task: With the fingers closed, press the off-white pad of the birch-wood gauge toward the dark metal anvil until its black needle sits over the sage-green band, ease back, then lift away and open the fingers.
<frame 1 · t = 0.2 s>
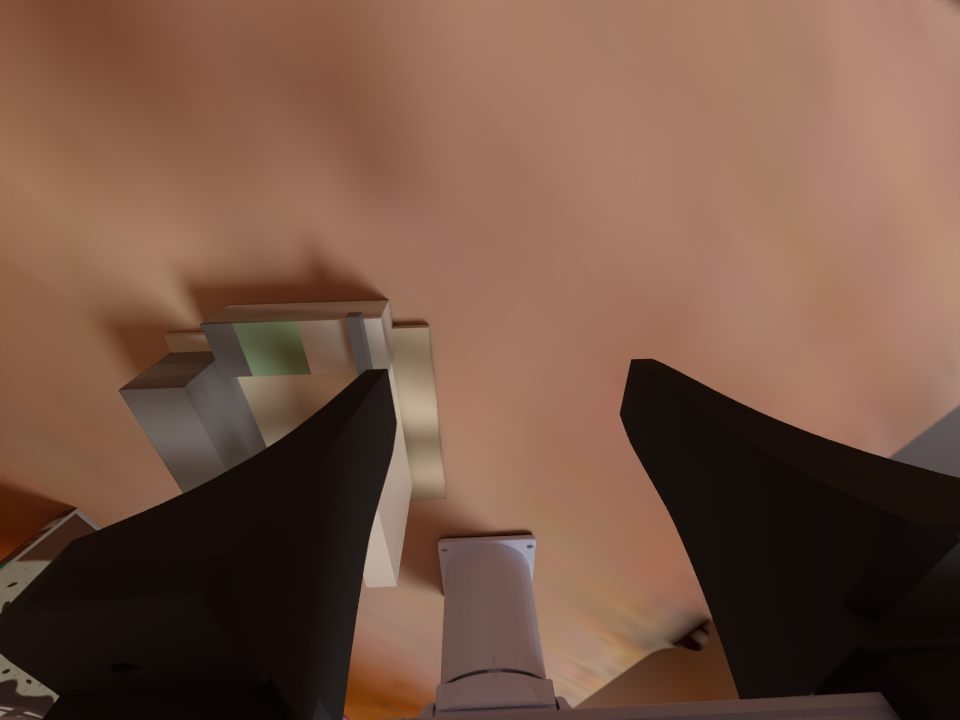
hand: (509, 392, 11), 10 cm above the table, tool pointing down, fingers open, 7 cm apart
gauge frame: (330, 426, 24), on the table
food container: (90, 549, 30), on the table
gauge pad: (373, 446, 19), point 4 cm above the table, slide at 0.0 cm
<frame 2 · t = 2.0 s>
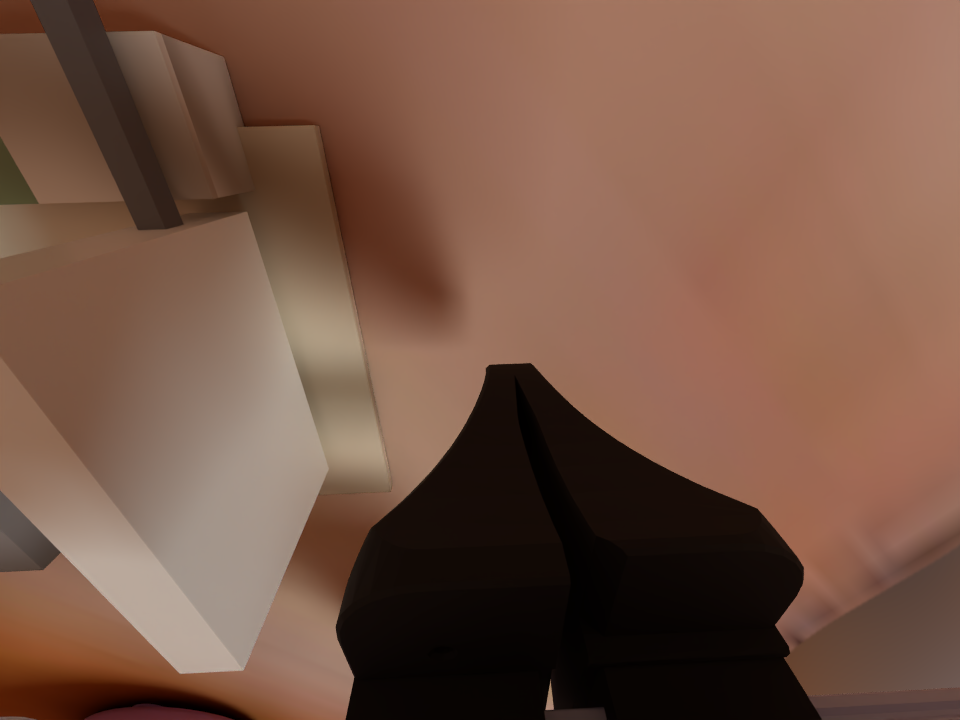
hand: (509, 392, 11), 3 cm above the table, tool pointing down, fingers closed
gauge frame: (171, 359, 13), on the table
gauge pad: (183, 367, 9), point 4 cm above the table, slide at 0.0 cm
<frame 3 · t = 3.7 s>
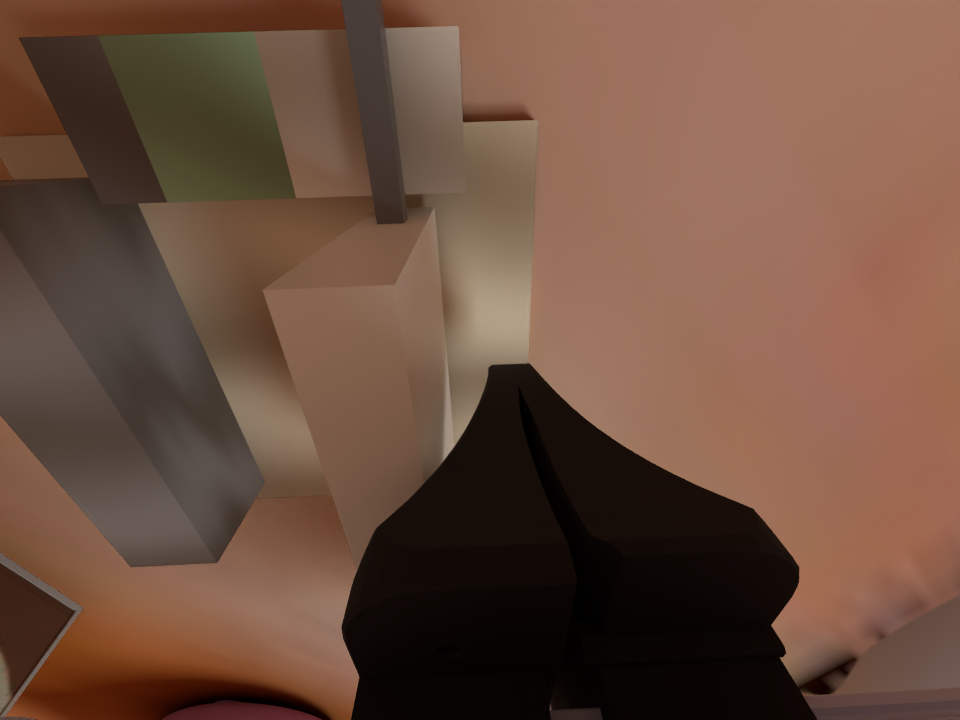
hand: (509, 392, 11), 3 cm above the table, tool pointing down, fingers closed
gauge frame: (336, 353, 14), on the table
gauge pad: (402, 360, 9), point 4 cm above the table, slide at 0.7 cm, touching gripper
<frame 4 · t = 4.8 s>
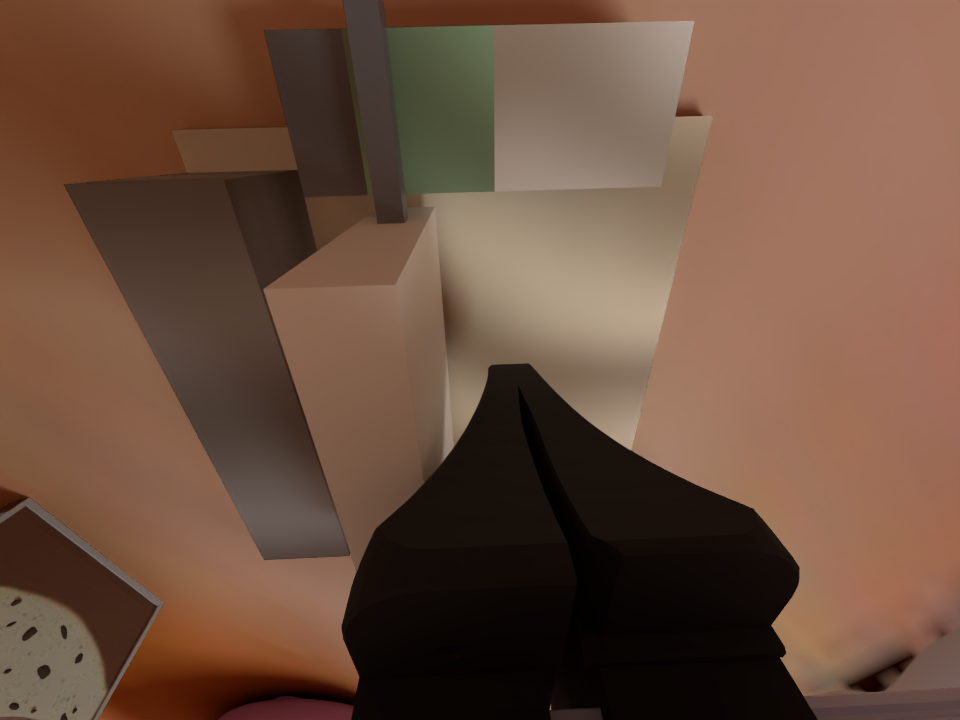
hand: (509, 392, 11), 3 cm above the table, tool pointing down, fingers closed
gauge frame: (463, 348, 14), on the table
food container: (56, 562, 19), on the table
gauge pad: (402, 360, 9), point 4 cm above the table, slide at 5.4 cm, touching gripper
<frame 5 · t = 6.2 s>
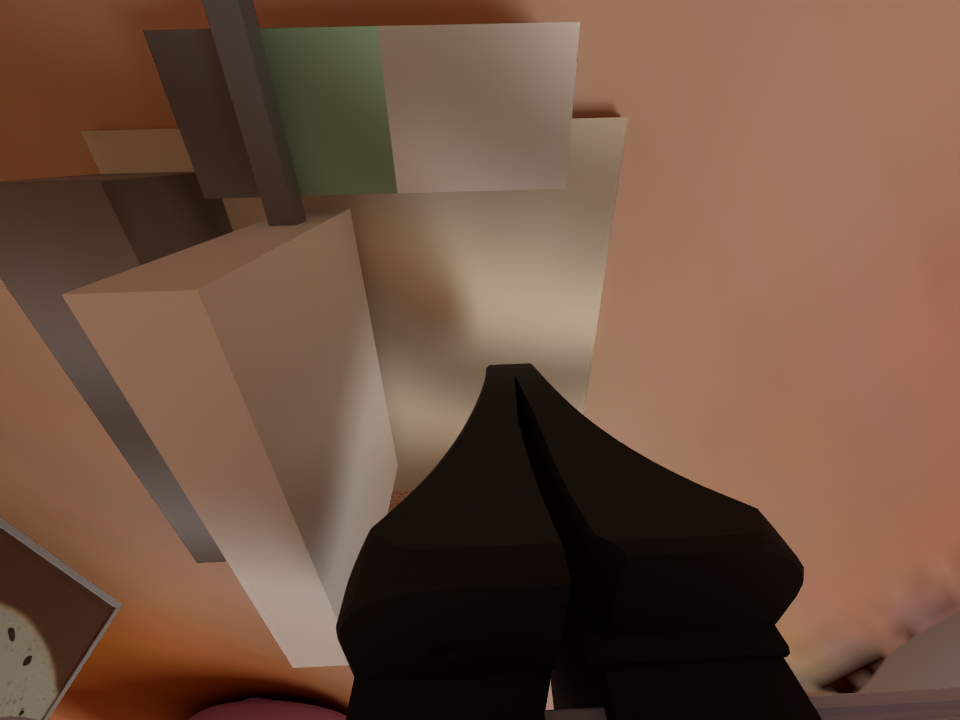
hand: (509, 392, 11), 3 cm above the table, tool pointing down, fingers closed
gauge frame: (400, 350, 14), on the table
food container: (10, 564, 19), on the table
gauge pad: (303, 363, 9), point 4 cm above the table, slide at 5.5 cm
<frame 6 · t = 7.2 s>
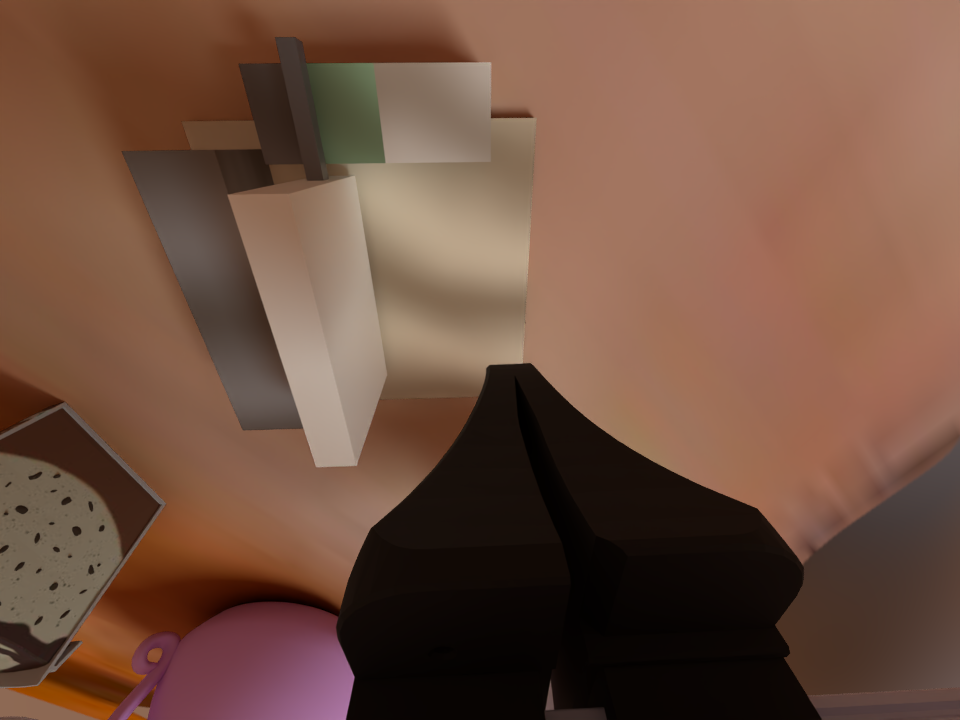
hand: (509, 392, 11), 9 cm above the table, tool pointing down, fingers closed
teapot: (279, 640, 37), on the table
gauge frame: (389, 283, 19), on the table
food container: (81, 463, 25), on the table
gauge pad: (325, 269, 14), point 4 cm above the table, slide at 5.5 cm
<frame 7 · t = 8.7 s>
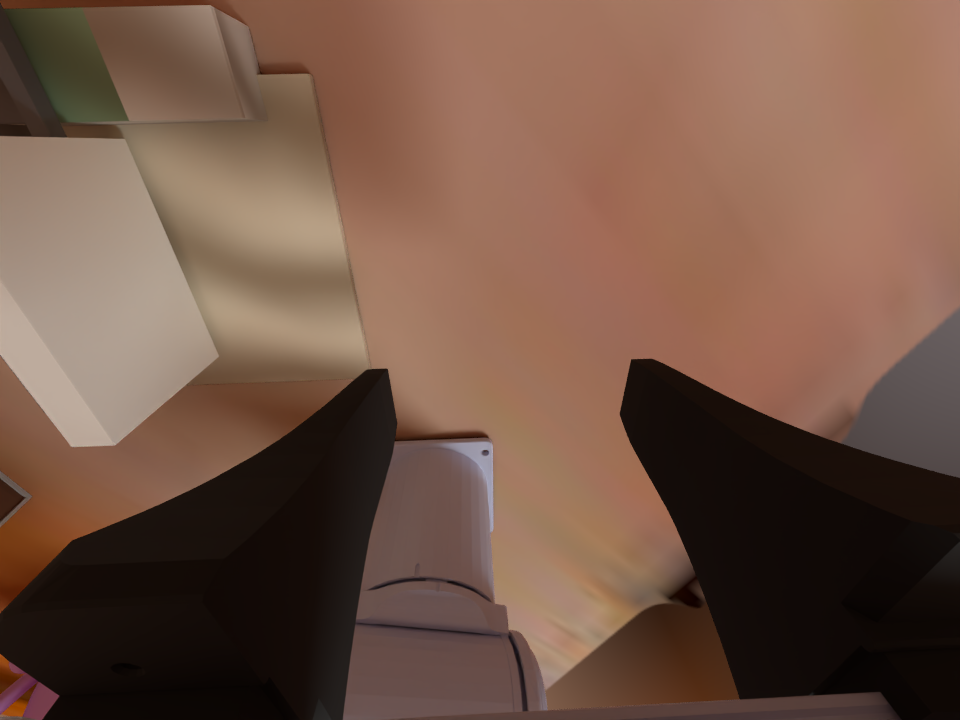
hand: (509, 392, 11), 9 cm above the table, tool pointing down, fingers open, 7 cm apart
teapot: (190, 638, 36), on the table
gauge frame: (203, 258, 18), on the table
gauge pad: (69, 234, 13), point 4 cm above the table, slide at 5.5 cm
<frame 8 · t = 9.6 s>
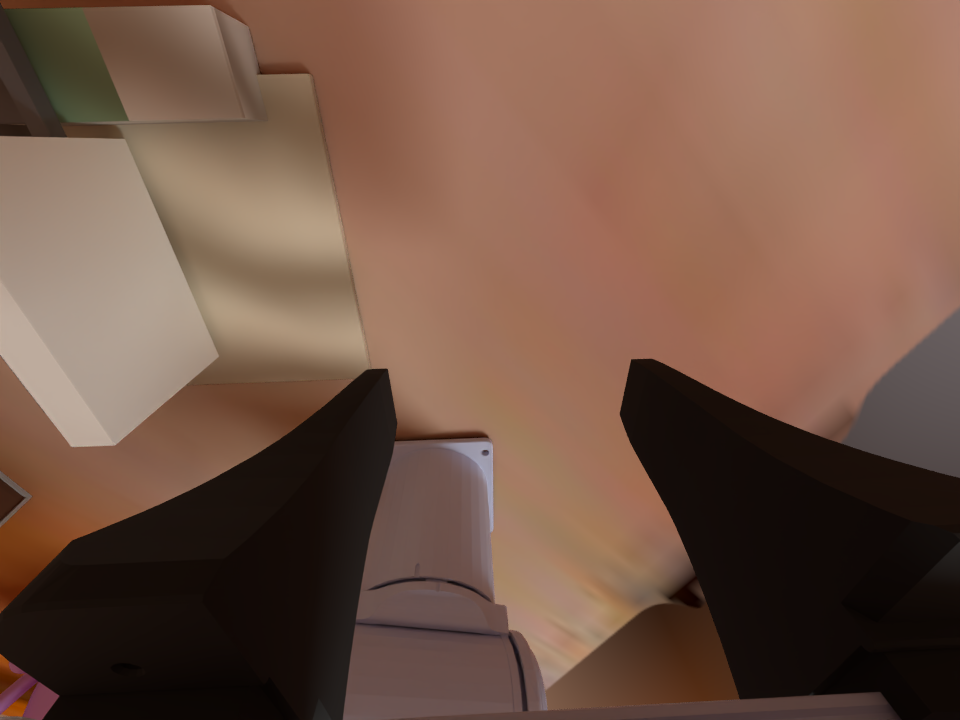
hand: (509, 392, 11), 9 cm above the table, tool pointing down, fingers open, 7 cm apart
teapot: (190, 638, 36), on the table
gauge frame: (203, 258, 18), on the table
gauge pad: (69, 234, 13), point 4 cm above the table, slide at 5.5 cm
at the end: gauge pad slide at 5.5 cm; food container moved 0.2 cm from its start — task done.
